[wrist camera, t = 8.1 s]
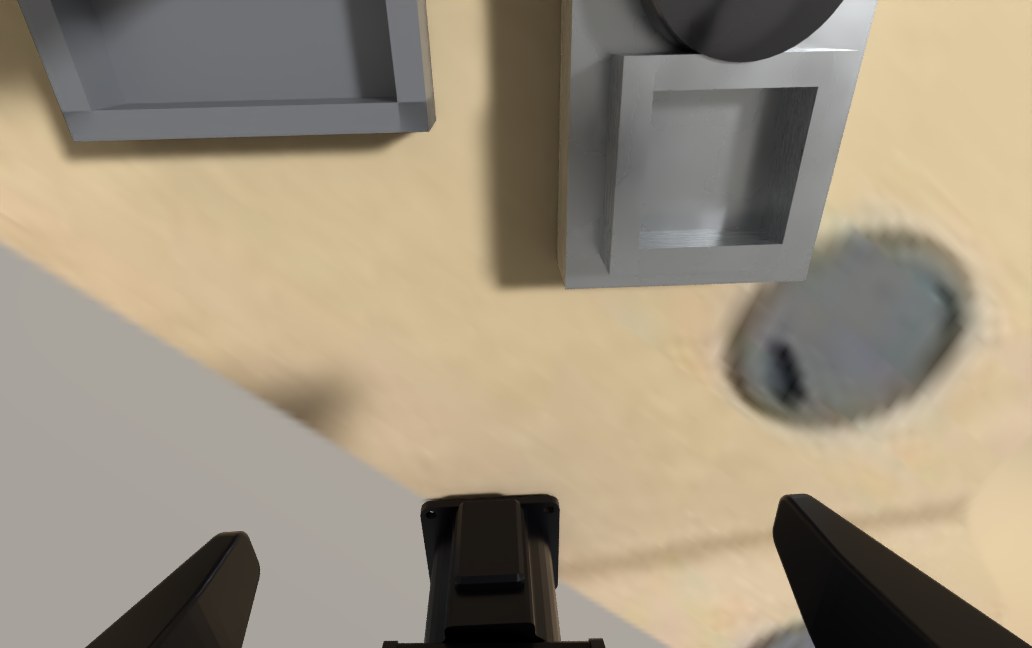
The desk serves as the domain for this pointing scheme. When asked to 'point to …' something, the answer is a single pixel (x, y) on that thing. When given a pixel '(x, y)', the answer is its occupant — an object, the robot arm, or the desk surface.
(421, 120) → the tray
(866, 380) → the desk surface
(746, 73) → the tensioner block
